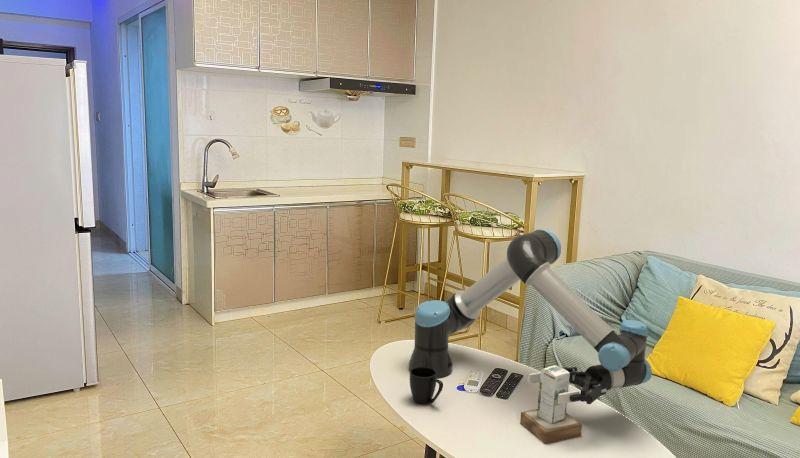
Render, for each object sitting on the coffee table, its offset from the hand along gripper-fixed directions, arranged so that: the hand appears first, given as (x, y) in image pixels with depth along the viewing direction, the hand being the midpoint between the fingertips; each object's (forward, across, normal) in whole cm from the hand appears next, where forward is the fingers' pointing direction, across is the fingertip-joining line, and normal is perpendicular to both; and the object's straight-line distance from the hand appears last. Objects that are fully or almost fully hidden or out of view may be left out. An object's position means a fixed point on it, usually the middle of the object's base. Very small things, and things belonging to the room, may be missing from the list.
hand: (543, 388), depth 168 cm
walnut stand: (-3, 0, -13) cm, 13 cm away
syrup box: (-3, 0, -10) cm, 10 cm away
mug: (+23, +27, -13) cm, 38 cm away
